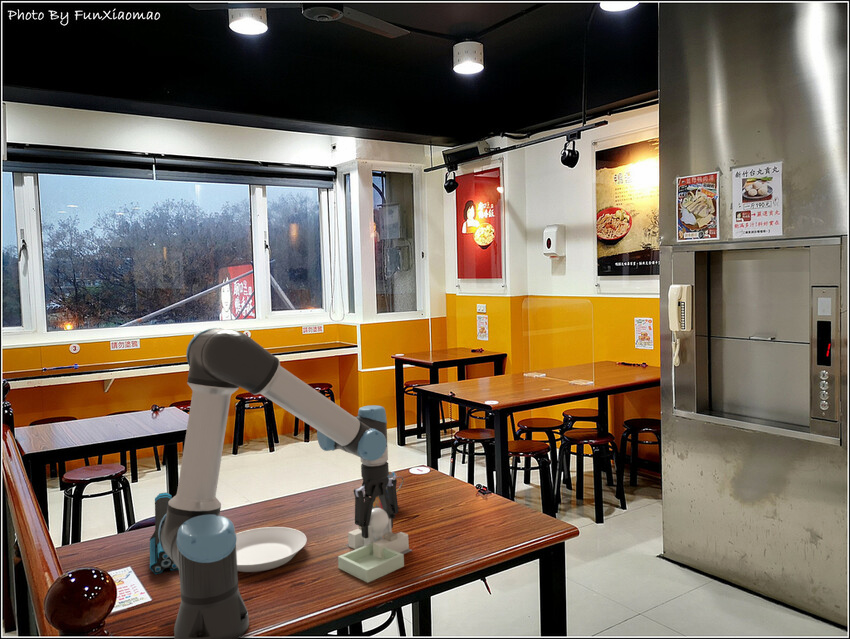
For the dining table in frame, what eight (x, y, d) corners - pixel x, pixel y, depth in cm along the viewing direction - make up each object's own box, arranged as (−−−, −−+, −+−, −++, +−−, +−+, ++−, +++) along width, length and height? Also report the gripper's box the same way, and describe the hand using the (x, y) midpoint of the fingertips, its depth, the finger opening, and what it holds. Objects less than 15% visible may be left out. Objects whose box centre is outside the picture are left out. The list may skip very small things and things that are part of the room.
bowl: (209, 585, 156) (208, 571, 156) (215, 546, 180) (214, 534, 180) (311, 569, 163) (310, 556, 163) (303, 534, 187) (302, 522, 187)
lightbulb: (386, 552, 171) (384, 513, 170) (364, 551, 172) (362, 512, 171) (392, 543, 177) (390, 504, 176) (370, 542, 178) (368, 504, 178)
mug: (376, 514, 200) (375, 481, 199) (365, 505, 208) (364, 474, 208) (410, 507, 206) (409, 474, 205) (398, 498, 214) (397, 468, 213)
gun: (152, 597, 164) (147, 548, 160) (151, 536, 187) (148, 492, 183) (184, 590, 167) (181, 542, 163) (180, 530, 190) (177, 487, 186)
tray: (367, 582, 154) (366, 570, 154) (338, 568, 163) (337, 556, 162) (404, 566, 162) (403, 554, 162) (374, 553, 171) (374, 542, 171)
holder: (384, 565, 165) (383, 543, 165) (345, 547, 177) (344, 526, 177) (412, 553, 172) (411, 531, 171) (373, 536, 184) (372, 516, 184)
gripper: (354, 473, 164) (359, 559, 165) (409, 457, 177) (413, 537, 178) (337, 467, 169) (341, 551, 170) (392, 452, 182) (395, 530, 184)
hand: (378, 544), depth 174 cm, fingers closed on lightbulb, 6 cm apart
